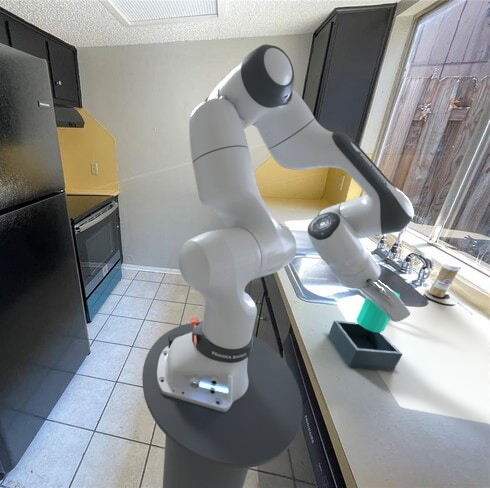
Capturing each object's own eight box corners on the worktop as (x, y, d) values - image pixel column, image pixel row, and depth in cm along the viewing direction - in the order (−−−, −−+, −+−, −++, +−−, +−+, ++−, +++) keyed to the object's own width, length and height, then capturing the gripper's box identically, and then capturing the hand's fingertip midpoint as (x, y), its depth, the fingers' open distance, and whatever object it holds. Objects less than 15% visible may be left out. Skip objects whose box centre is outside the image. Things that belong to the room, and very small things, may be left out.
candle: (370, 333, 65) (388, 294, 60) (350, 317, 70) (366, 280, 65) (389, 331, 66) (410, 292, 61) (369, 316, 71) (386, 279, 66)
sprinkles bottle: (434, 297, 98) (452, 266, 93) (424, 290, 102) (440, 260, 97) (447, 298, 98) (465, 267, 93) (436, 291, 102) (453, 261, 97)
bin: (349, 366, 67) (356, 350, 65) (328, 335, 77) (333, 320, 75) (393, 370, 66) (402, 354, 64) (366, 339, 77) (373, 323, 74)
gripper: (403, 286, 51) (430, 327, 55) (343, 244, 70) (366, 277, 74) (373, 303, 53) (401, 341, 57) (321, 258, 72) (345, 289, 76)
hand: (381, 305), depth 66 cm, fingers closed on candle, 5 cm apart
